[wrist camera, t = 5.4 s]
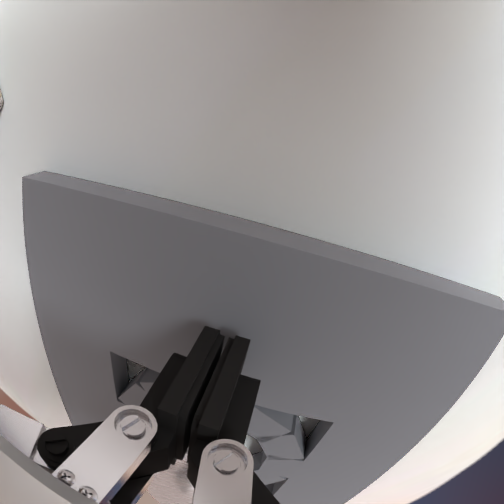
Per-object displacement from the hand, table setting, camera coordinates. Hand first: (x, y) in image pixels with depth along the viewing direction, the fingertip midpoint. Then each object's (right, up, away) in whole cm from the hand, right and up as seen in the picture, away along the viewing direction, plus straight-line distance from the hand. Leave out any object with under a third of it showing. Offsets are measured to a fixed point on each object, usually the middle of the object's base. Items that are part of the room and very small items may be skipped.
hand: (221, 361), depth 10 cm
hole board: (-1, -4, +4) cm, 6 cm away
